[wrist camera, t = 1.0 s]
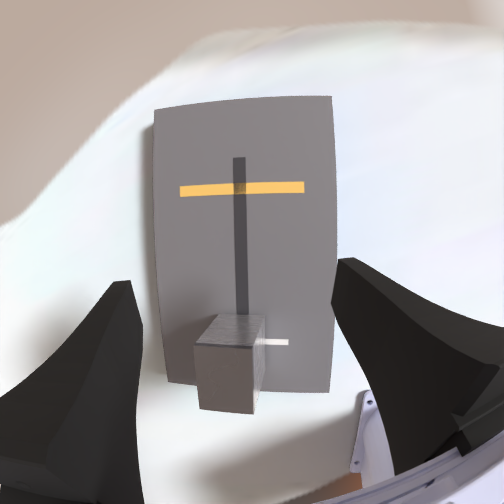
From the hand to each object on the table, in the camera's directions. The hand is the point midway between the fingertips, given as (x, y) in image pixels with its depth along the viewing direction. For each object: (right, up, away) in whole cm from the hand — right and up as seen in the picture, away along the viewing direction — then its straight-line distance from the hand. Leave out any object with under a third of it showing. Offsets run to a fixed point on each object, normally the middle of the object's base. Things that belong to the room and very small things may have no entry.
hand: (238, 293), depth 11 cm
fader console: (0, +2, +12) cm, 12 cm away
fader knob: (0, -5, +10) cm, 11 cm away
